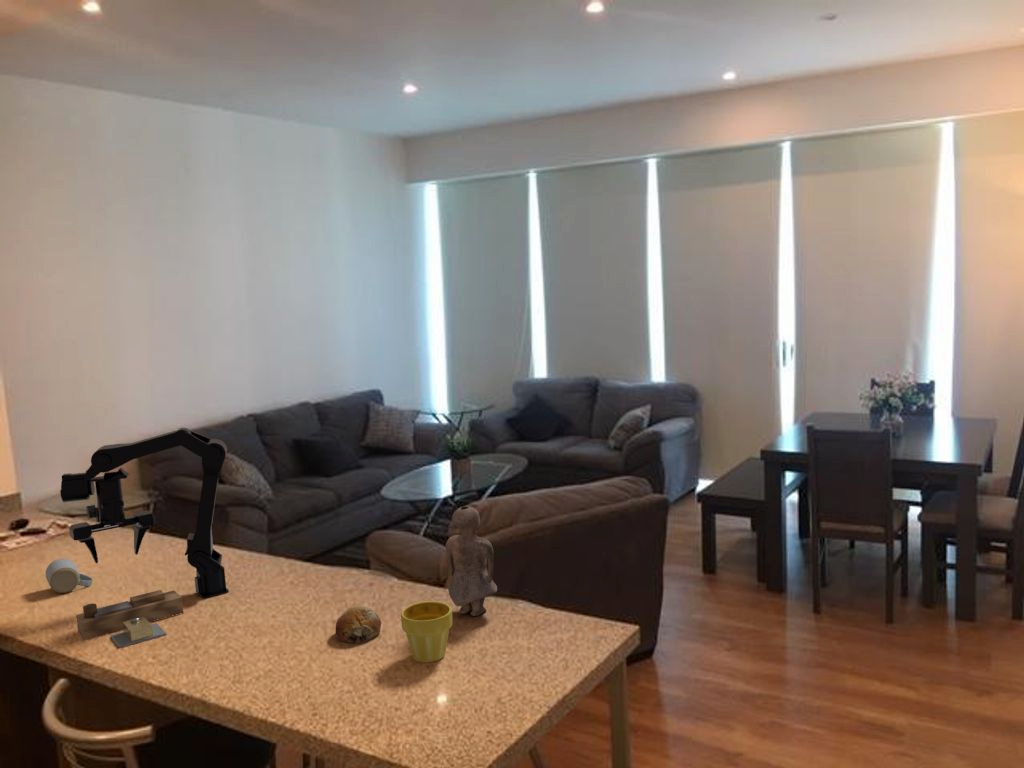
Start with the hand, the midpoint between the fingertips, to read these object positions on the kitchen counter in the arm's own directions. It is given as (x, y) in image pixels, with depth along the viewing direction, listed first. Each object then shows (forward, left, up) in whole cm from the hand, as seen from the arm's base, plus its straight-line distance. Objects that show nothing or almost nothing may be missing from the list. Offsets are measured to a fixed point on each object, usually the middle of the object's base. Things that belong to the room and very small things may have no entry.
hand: (116, 558), depth 213 cm
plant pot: (-41, +79, -12) cm, 90 cm away
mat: (+2, +24, -12) cm, 27 cm away
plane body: (+1, +14, -12) cm, 18 cm away
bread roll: (-35, +59, -12) cm, 70 cm away
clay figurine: (-61, +66, -12) cm, 91 cm away
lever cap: (+2, +24, -12) cm, 27 cm away
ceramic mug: (+7, -24, -12) cm, 28 cm away
